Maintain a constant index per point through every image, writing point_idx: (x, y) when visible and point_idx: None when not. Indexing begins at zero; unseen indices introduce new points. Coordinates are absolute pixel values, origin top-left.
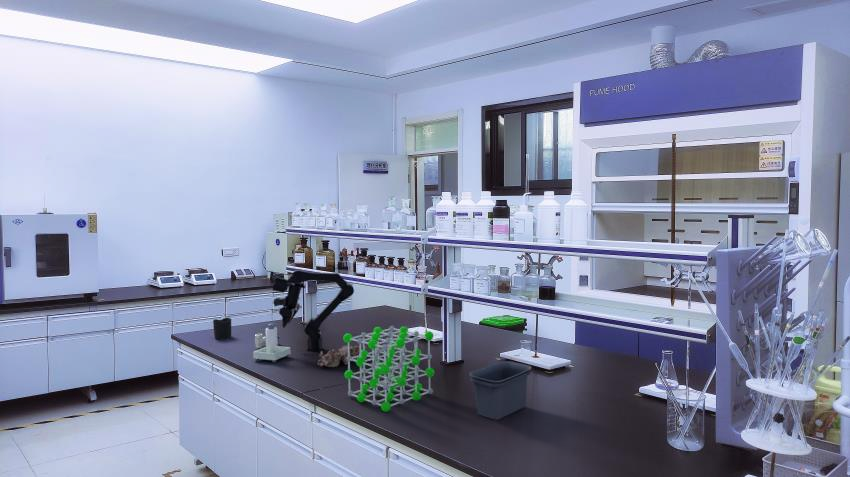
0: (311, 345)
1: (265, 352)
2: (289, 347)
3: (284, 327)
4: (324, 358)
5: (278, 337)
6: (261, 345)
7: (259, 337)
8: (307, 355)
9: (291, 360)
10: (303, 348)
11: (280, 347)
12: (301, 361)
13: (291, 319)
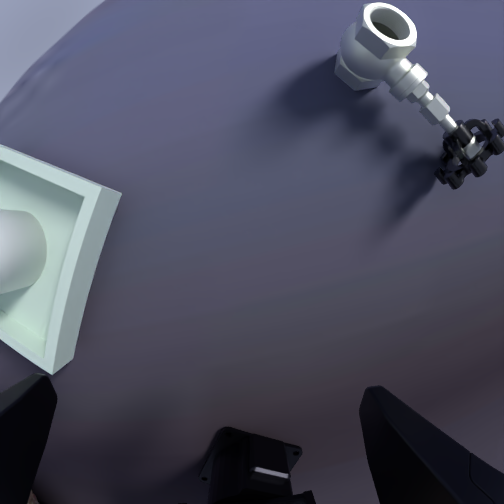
0: (214, 473)
1: (49, 187)
2: (50, 369)
3: (45, 395)
4: None
5: (454, 183)
6: (352, 78)
7: (361, 38)
8: (119, 436)
9: (27, 361)
10: (290, 396)
11: (55, 299)
12: None
13: (377, 486)
